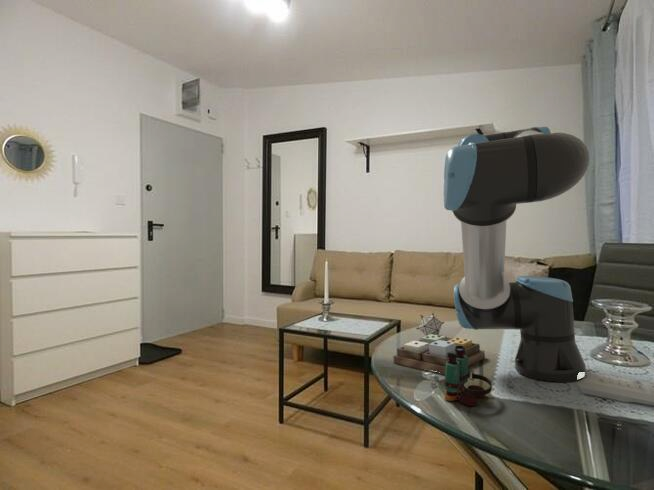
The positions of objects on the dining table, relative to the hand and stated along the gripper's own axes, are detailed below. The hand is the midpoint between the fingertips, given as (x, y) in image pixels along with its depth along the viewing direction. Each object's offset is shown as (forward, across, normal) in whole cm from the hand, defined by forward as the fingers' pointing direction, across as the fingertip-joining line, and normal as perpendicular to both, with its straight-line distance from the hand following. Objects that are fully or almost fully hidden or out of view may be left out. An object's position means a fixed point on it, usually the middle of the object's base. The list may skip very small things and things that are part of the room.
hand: (480, 268), depth 115 cm
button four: (+22, +12, -2) cm, 25 cm away
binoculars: (+25, +34, +13) cm, 44 cm away
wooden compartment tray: (+24, +16, -6) cm, 30 cm away
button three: (+22, +12, -10) cm, 27 cm away
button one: (+22, +20, -10) cm, 32 cm away
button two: (+21, +20, -2) cm, 29 cm away
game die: (+25, -4, -22) cm, 33 cm away
